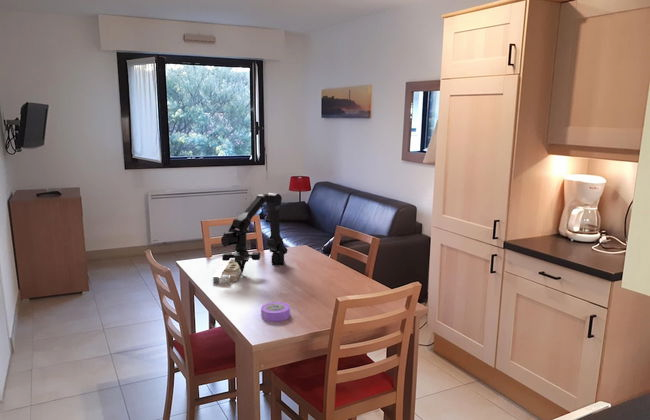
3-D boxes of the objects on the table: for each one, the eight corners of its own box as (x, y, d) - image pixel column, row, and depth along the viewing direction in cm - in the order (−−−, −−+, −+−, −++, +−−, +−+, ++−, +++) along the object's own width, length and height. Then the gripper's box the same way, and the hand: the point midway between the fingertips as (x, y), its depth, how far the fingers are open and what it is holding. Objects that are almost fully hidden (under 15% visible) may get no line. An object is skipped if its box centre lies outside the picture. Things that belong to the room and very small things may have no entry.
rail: (240, 265, 261) (239, 258, 260) (229, 284, 231) (229, 277, 230) (225, 265, 261) (225, 258, 260) (212, 284, 230) (212, 277, 230)
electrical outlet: (221, 274, 234) (228, 263, 252) (221, 282, 235) (228, 270, 253) (235, 274, 234) (241, 263, 252) (235, 282, 235) (241, 270, 253)
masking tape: (255, 317, 194) (255, 308, 194) (273, 308, 204) (273, 299, 203) (277, 324, 188) (277, 315, 187) (295, 314, 198) (295, 305, 197)
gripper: (219, 247, 234) (220, 277, 237) (257, 246, 235) (258, 277, 238) (223, 241, 245) (225, 270, 248) (260, 241, 246) (261, 270, 249)
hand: (242, 272), depth 245 cm, fingers closed
